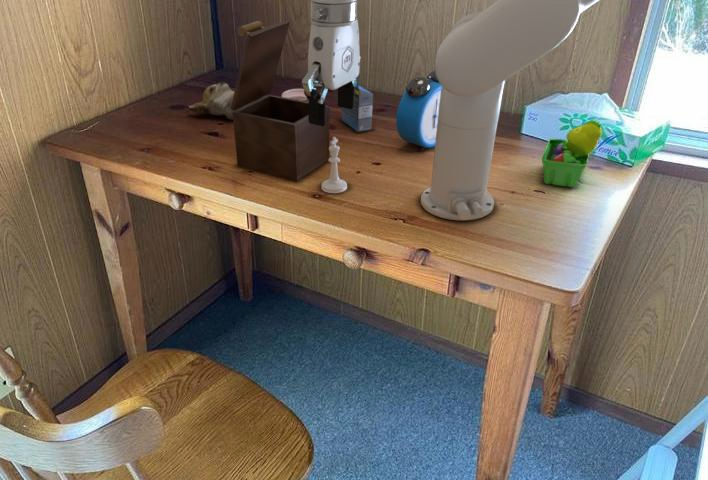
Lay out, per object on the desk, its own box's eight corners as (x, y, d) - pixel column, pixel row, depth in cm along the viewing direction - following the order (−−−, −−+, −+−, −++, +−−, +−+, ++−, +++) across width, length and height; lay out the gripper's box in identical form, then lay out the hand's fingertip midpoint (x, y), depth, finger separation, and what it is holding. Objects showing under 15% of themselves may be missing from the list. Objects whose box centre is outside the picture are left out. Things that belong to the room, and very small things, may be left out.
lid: (290, 21, 116) (268, 8, 117) (251, 35, 108) (228, 21, 109) (270, 93, 127) (251, 80, 128) (233, 110, 118) (213, 97, 120)
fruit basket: (544, 161, 122) (555, 106, 116) (591, 168, 119) (606, 111, 112) (535, 185, 114) (548, 126, 107) (587, 193, 111) (602, 133, 104)
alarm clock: (416, 157, 126) (422, 84, 118) (392, 149, 130) (396, 77, 121) (453, 139, 133) (461, 69, 125) (430, 132, 137) (436, 63, 129)
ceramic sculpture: (224, 89, 138) (179, 83, 147) (230, 126, 143) (185, 118, 151) (255, 78, 145) (210, 72, 154) (259, 114, 150) (215, 106, 158)
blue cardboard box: (372, 130, 139) (374, 75, 132) (357, 132, 138) (358, 77, 131) (355, 117, 146) (356, 65, 139) (340, 120, 145) (340, 67, 138)
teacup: (273, 113, 151) (271, 88, 147) (321, 110, 151) (321, 85, 148) (276, 130, 141) (274, 104, 137) (327, 127, 141) (327, 101, 138)
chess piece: (352, 186, 116) (353, 136, 110) (336, 195, 113) (336, 144, 107) (332, 179, 119) (332, 130, 113) (315, 188, 116) (315, 138, 110)
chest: (329, 159, 126) (329, 105, 120) (297, 181, 118) (294, 125, 112) (272, 146, 133) (269, 94, 127) (237, 166, 125) (232, 112, 119)
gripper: (325, 25, 91) (324, 135, 100) (379, 4, 102) (373, 105, 112) (283, 20, 94) (286, 127, 104) (340, 0, 106) (338, 98, 116)
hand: (331, 115), depth 108 cm, fingers open, 9 cm apart
